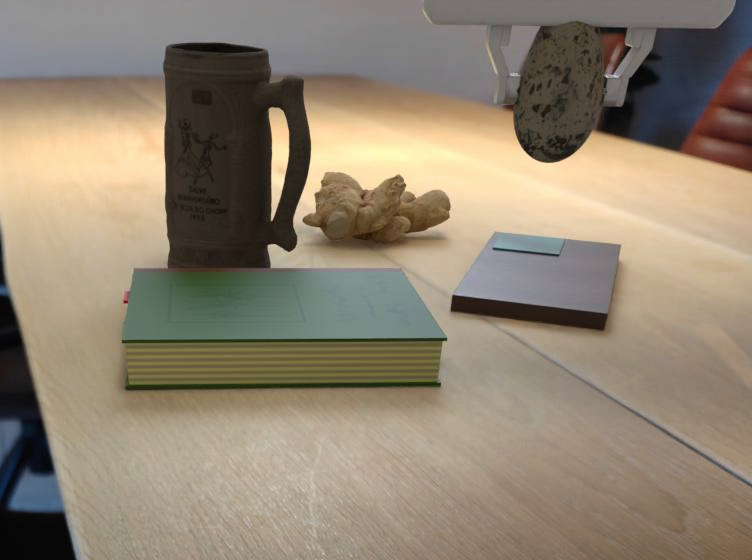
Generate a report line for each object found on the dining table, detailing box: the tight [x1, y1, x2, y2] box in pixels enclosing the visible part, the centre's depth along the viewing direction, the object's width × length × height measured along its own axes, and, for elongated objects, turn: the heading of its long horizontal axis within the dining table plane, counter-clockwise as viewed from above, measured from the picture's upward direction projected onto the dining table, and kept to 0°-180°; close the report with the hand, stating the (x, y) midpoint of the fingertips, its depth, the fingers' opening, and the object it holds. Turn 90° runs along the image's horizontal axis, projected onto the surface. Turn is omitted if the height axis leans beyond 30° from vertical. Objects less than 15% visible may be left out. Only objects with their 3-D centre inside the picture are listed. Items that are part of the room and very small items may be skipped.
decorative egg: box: [512, 21, 605, 164], centre depth 63 cm, size 6×6×10 cm
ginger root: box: [301, 171, 452, 244], centre depth 105 cm, size 16×16×8 cm
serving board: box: [449, 231, 622, 331], centre depth 93 cm, size 26×14×2 cm, turn 160°
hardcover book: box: [121, 267, 448, 390], centre depth 76 cm, size 25×19×4 cm
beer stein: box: [162, 41, 312, 268], centre depth 88 cm, size 15×11×20 cm
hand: (556, 104), depth 64 cm, fingers closed on decorative egg, 6 cm apart
